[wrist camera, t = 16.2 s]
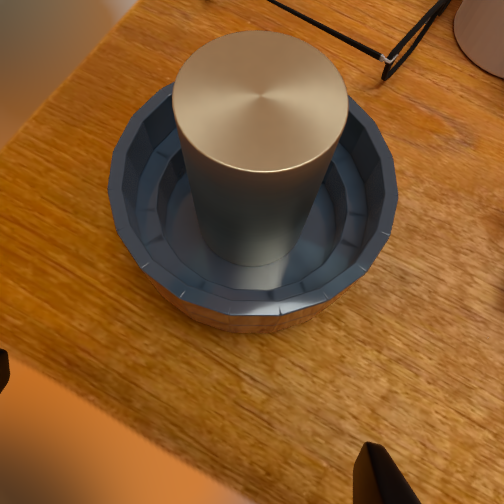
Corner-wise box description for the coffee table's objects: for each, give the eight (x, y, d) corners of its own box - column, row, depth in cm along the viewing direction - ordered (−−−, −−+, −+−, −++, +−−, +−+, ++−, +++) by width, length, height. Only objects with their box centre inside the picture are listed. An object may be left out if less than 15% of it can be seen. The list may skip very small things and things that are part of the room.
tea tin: (307, 265, 20) (359, 172, 11) (197, 267, 19) (167, 174, 11) (298, 171, 22) (339, 30, 13) (199, 171, 21) (174, 29, 13)
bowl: (221, 386, 19) (215, 384, 13) (102, 204, 22) (56, 140, 16) (399, 253, 22) (457, 205, 16) (271, 108, 25) (282, 26, 19)
